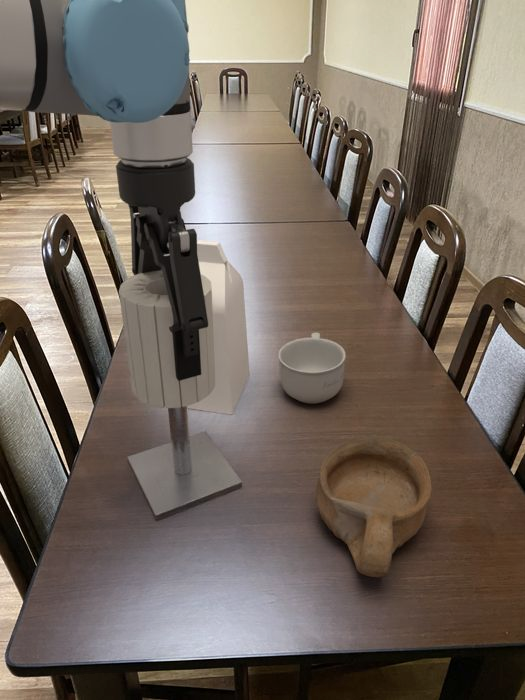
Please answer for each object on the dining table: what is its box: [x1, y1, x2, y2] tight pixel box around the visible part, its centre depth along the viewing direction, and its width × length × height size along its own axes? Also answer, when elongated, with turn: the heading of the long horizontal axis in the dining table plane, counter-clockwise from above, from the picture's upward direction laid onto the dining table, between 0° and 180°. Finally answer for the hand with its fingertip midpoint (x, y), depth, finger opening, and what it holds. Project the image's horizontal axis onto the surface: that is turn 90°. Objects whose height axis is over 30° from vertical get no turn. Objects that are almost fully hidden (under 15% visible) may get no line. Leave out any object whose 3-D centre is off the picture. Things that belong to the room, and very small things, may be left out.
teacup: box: [277, 332, 347, 405], centre depth 90 cm, size 14×11×8 cm
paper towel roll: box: [118, 270, 215, 409], centre depth 62 cm, size 10×10×13 cm
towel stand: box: [126, 406, 243, 522], centre depth 70 cm, size 12×12×14 cm
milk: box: [187, 239, 251, 416], centre depth 84 cm, size 12×12×26 cm
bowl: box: [315, 436, 433, 578], centre depth 63 cm, size 18×14×10 cm
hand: (171, 354), depth 64 cm, fingers closed on paper towel roll, 10 cm apart
